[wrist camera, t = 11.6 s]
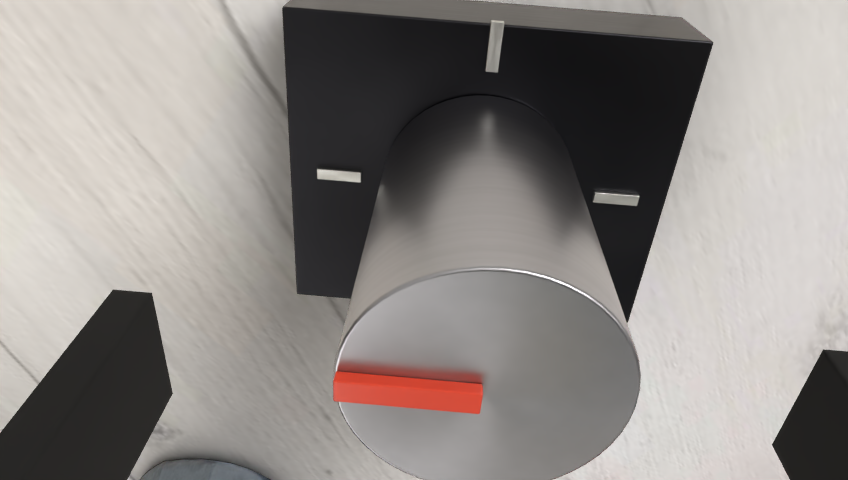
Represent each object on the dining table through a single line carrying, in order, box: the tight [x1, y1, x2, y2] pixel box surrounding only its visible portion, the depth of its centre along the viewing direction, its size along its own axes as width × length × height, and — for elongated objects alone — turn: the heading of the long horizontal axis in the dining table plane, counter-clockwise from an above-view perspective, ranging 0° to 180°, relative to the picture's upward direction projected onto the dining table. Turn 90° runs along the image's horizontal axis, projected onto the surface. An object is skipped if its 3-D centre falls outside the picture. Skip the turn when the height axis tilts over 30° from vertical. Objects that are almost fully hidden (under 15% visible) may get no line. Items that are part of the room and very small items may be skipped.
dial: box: [333, 95, 641, 480], centre depth 16 cm, size 6×6×9 cm
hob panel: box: [282, 0, 713, 322], centre depth 21 cm, size 12×10×3 cm
